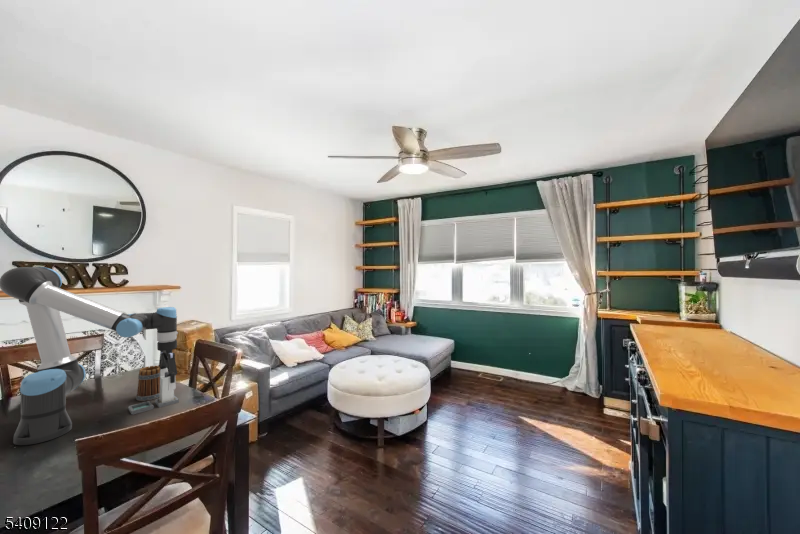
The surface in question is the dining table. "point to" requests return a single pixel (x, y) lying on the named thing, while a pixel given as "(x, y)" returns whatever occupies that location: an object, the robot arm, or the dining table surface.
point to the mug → (148, 383)
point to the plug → (165, 390)
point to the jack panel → (149, 405)
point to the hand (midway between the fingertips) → (167, 386)
